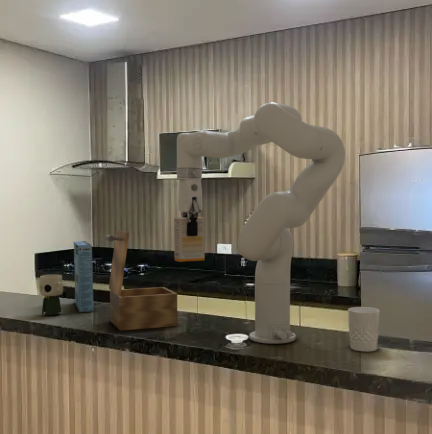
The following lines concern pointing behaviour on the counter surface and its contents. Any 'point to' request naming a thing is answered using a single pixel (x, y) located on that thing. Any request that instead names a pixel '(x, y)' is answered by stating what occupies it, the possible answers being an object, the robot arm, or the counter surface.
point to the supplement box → (188, 241)
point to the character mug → (51, 293)
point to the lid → (118, 260)
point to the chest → (143, 308)
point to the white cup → (363, 328)
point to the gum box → (83, 276)
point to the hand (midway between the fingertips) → (189, 234)
